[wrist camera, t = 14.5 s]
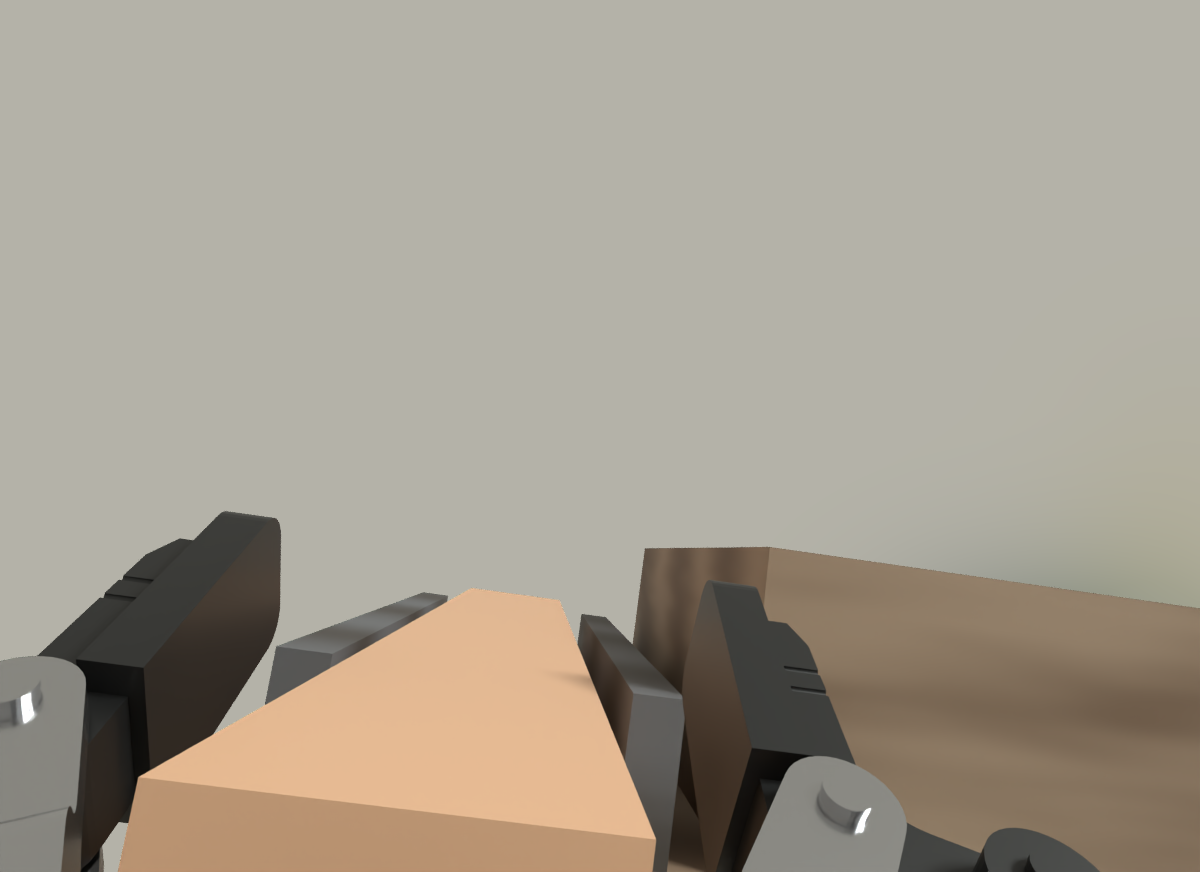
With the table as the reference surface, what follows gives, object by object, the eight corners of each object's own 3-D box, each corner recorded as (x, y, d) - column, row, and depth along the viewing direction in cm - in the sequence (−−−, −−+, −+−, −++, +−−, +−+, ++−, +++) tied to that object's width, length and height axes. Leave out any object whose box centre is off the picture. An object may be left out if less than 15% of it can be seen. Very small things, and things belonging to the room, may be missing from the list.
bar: (583, 1433, 5) (656, 840, 5) (4, 1392, 5) (138, 777, 5) (546, 690, 31) (559, 600, 31) (456, 679, 30) (471, 588, 31)
